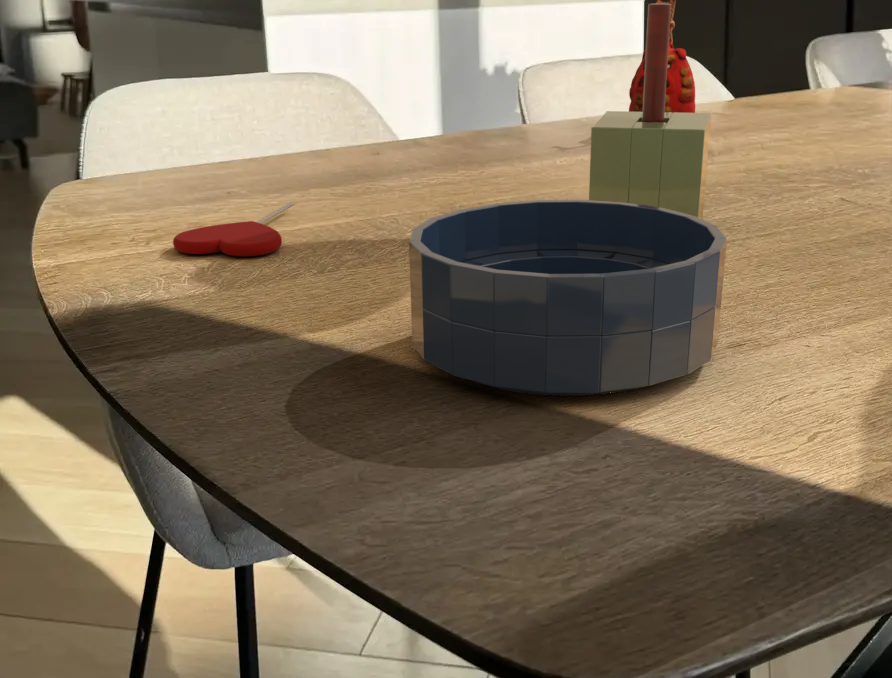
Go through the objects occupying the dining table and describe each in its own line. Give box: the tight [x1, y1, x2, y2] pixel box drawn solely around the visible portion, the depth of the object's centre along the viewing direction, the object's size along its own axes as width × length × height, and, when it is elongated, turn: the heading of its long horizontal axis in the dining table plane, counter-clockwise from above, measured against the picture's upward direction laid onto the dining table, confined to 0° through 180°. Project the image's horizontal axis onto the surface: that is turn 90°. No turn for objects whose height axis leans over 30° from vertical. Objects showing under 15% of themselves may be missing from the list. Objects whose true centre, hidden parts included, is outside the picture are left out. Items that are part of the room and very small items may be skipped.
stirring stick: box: [642, 2, 671, 122], centre depth 83 cm, size 2×2×16 cm
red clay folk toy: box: [628, 0, 696, 113], centre depth 124 cm, size 8×7×15 cm
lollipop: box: [172, 201, 295, 257], centre depth 86 cm, size 8×1×15 cm
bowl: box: [408, 199, 728, 397], centre depth 59 cm, size 16×16×6 cm
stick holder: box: [588, 110, 712, 220], centre depth 84 cm, size 8×8×8 cm
